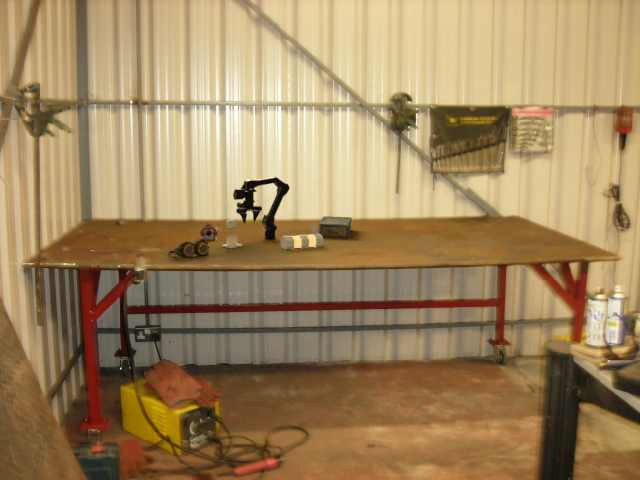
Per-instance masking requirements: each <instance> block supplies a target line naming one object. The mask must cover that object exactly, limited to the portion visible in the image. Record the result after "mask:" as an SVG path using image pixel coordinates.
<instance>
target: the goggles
mask: <svg viewBox="0 0 640 480" xmlns="http://www.w3.org/2000/svg"><path fill="white" fill-rule="evenodd" d="M209 249H210V247H209V242H208V241H205V240H204V239H203V240H202V239H201V240H197V241H196V242H194V243H193V242H190V241H185V242H183V243H181V244H180V245H179V246H177V247H176V248H174V250H169V251H168V253H170V254H175V256H176V255H177V257H179V258H183V257H185V258H190V257H193V256H194V255H196V256H198V255H204V256H207V255H209V253H210V252H209ZM206 254H207V255H206Z"/></svg>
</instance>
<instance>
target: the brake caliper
mask: <svg viewBox="0 0 640 480" xmlns="http://www.w3.org/2000/svg"><path fill="white" fill-rule="evenodd" d="M218 232H219V231H218V230H217V229H216V228H215V227H214V226H213V225H212V224H211V223H209V222H208V223H207V224H205V225H204V226H203V228H201V230H200V232H199V233H200V236H201V238H202V239H203V241H206V242H208V241H211V242H212V241H218Z"/></svg>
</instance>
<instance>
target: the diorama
mask: <svg viewBox="0 0 640 480" xmlns="http://www.w3.org/2000/svg"><path fill="white" fill-rule="evenodd" d="M310 230H311V231H310V234H297V235H282V236H281V237H280V247H281V248H282V249H283V250H286V249H289V250H295V249H294V248H301V249H309V248H308V247H314V248H323V247H324V238H323V236H322V235H321V234H319V231H318V227H316V226H314V225H313V224H312V225H311V227H310ZM322 246H323V247H322Z"/></svg>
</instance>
